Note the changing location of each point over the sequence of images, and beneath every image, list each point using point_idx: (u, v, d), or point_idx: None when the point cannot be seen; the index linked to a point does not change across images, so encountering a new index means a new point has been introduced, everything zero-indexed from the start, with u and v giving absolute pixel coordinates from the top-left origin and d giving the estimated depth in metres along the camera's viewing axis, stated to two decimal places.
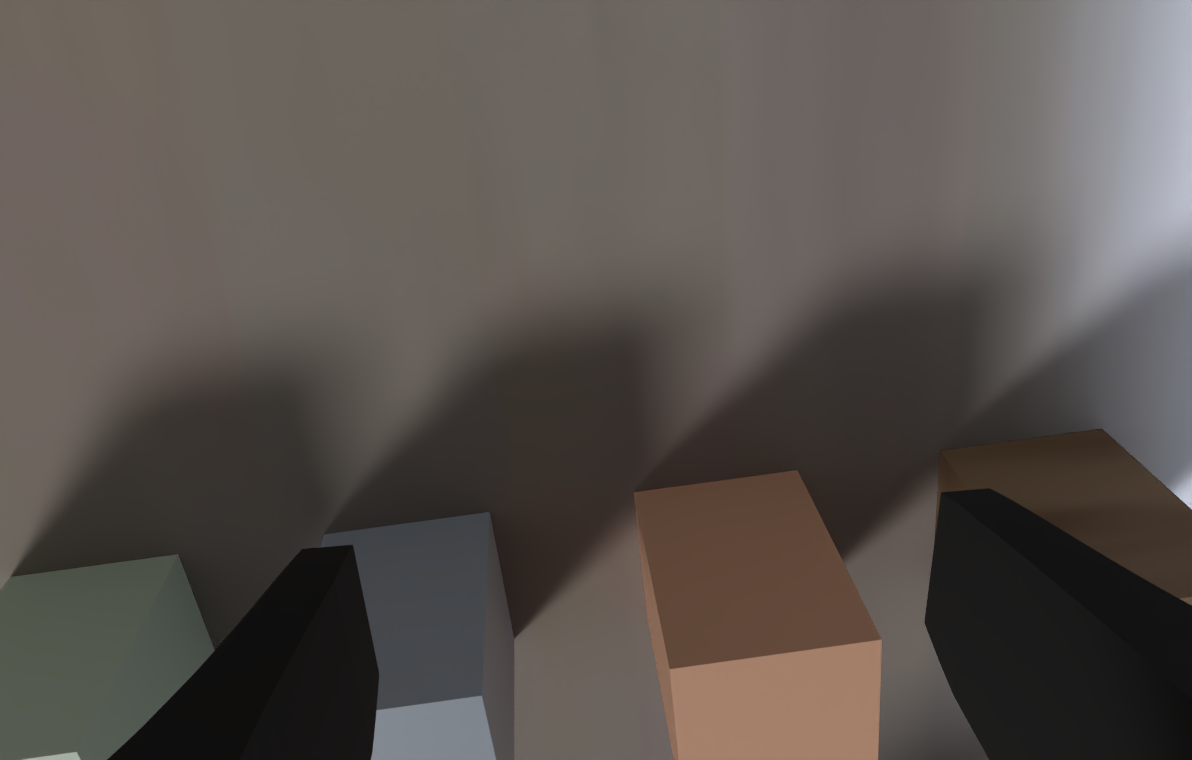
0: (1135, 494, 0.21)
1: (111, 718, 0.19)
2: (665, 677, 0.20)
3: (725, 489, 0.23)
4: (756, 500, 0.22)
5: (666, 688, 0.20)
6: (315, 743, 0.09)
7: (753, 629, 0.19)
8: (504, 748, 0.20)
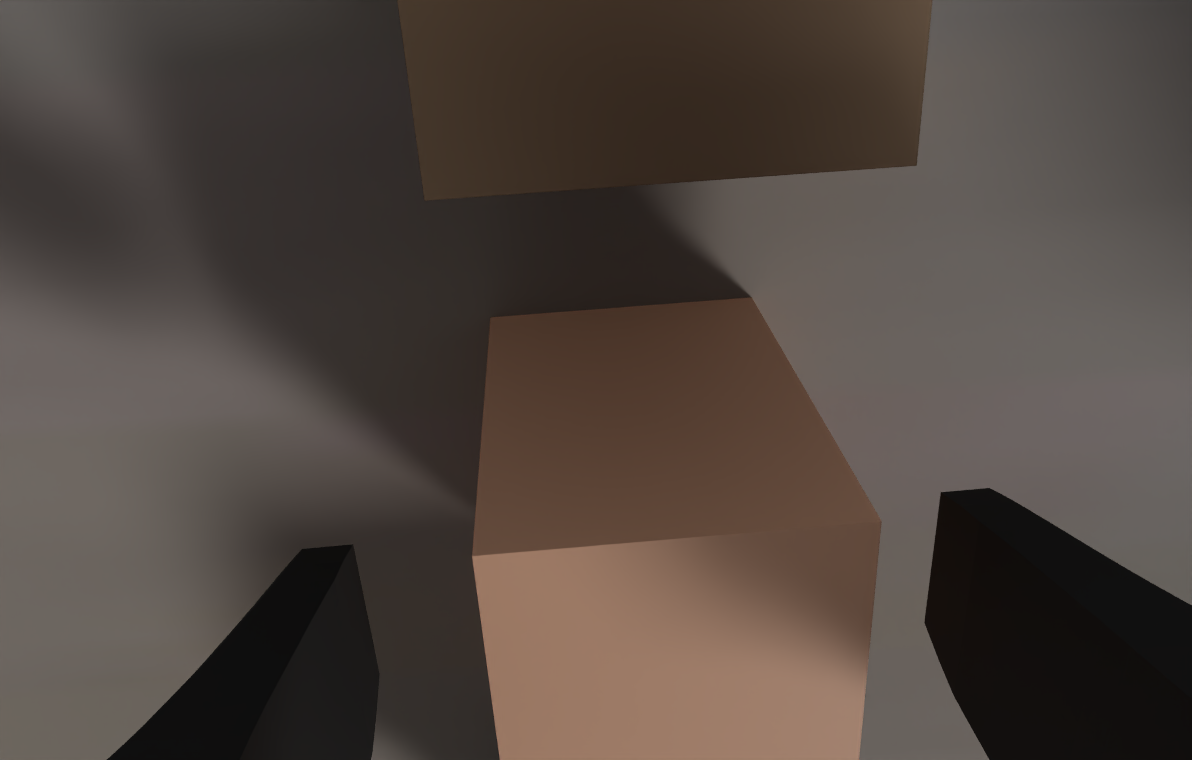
0: None
1: None
2: None
3: None
4: None
5: None
6: (316, 743, 0.09)
7: None
8: None
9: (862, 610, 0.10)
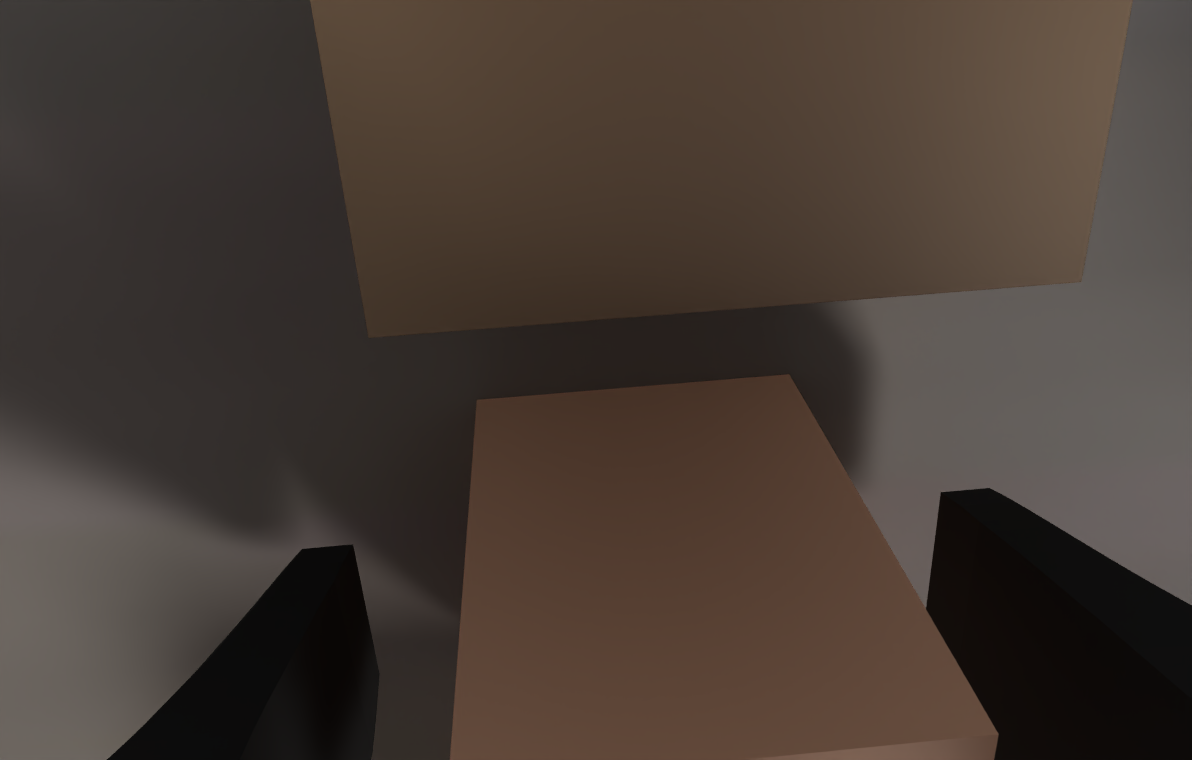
0: None
1: None
2: None
3: None
4: None
5: None
6: (316, 743, 0.09)
7: None
8: None
9: None
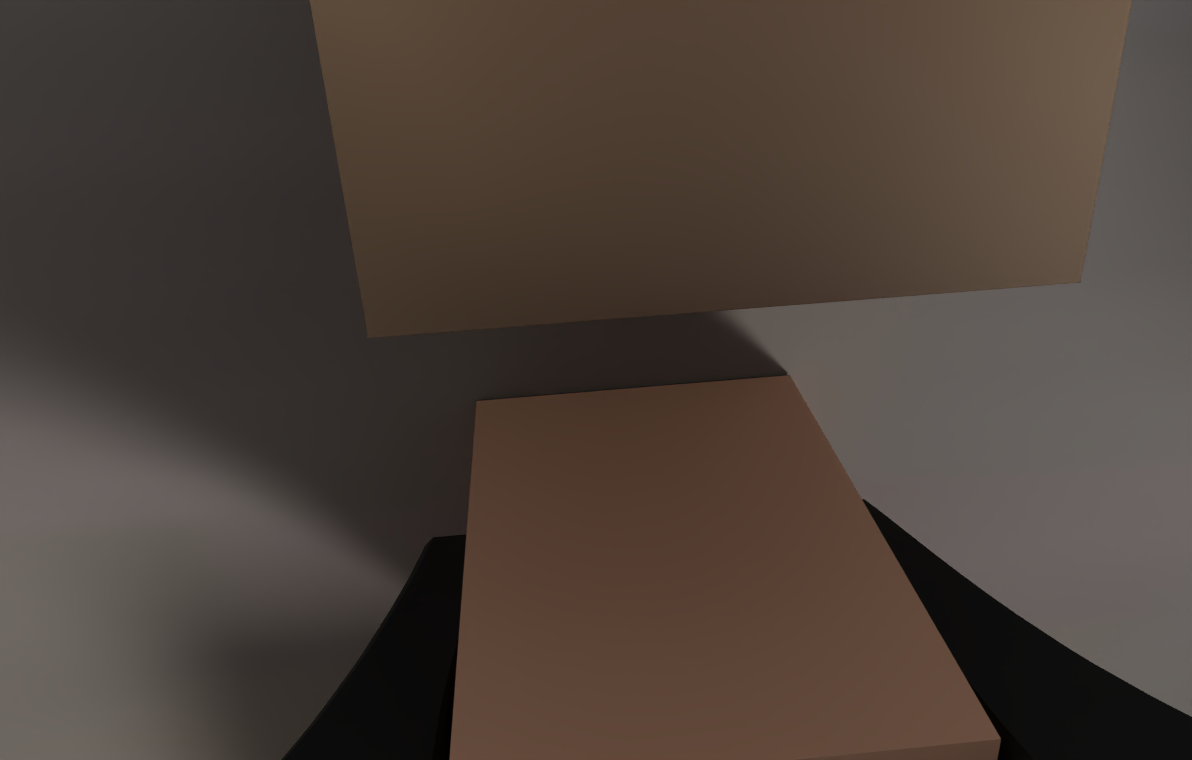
0: None
1: None
2: None
3: None
4: None
5: None
6: None
7: None
8: None
9: None
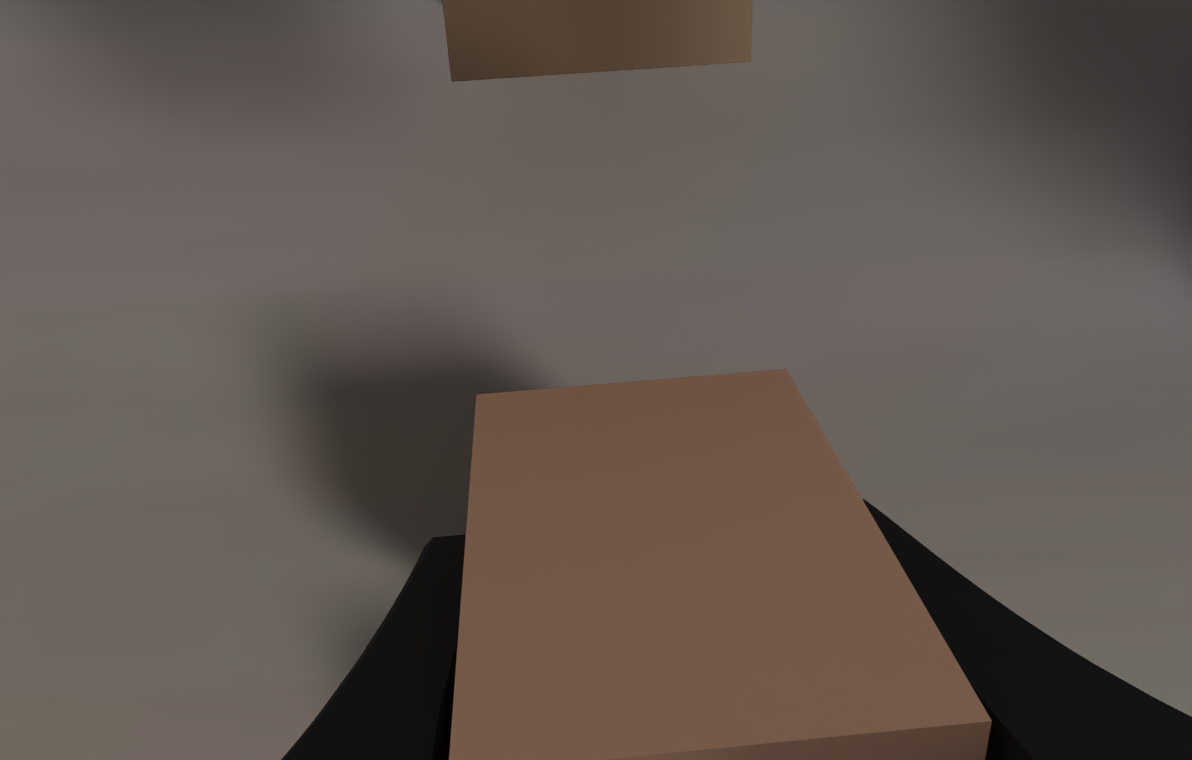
0: None
1: None
2: None
3: None
4: None
5: None
6: None
7: None
8: None
9: None
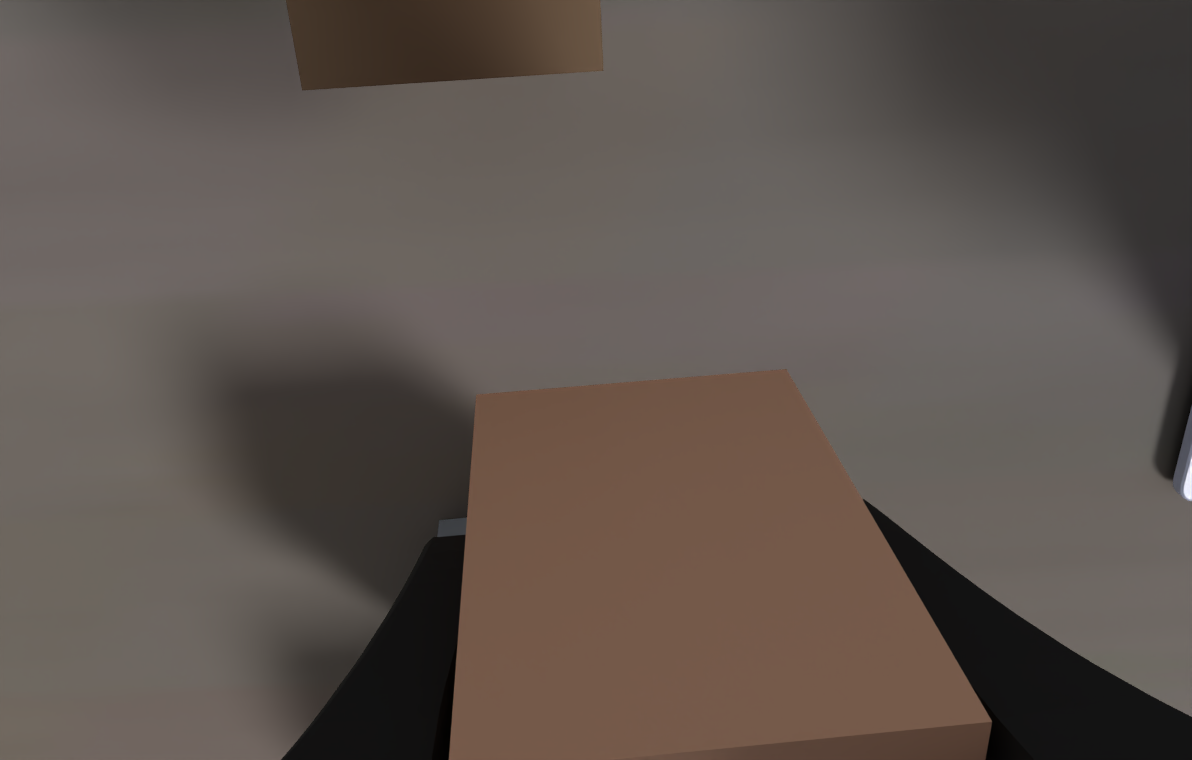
0: None
1: None
2: None
3: None
4: None
5: None
6: None
7: None
8: None
9: None
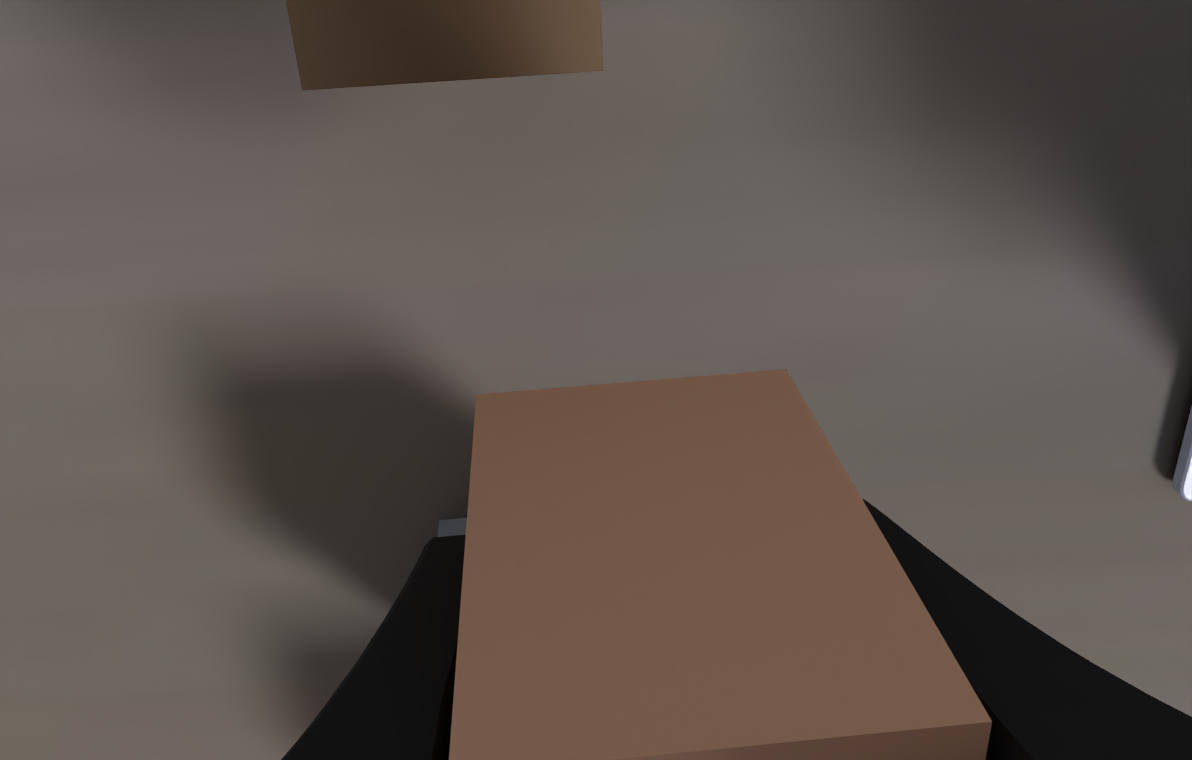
0: None
1: None
2: None
3: None
4: None
5: None
6: None
7: None
8: None
9: None
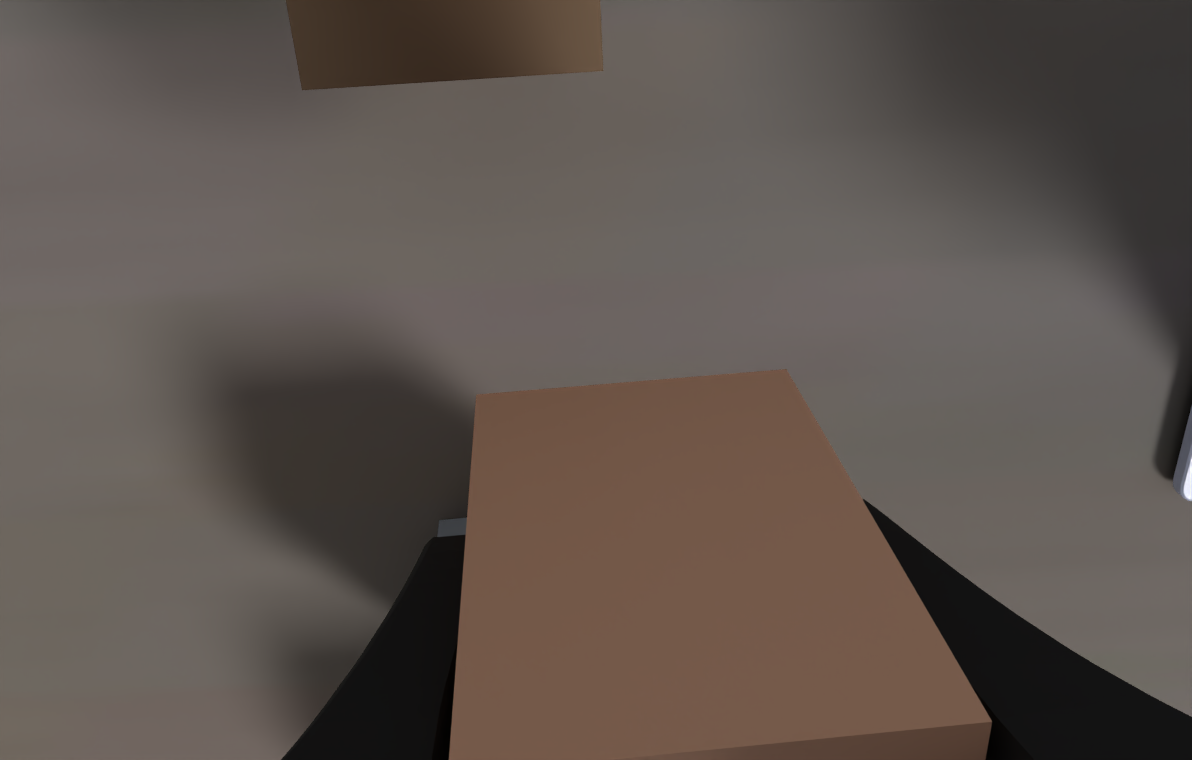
0: None
1: None
2: None
3: None
4: None
5: None
6: None
7: None
8: None
9: None
